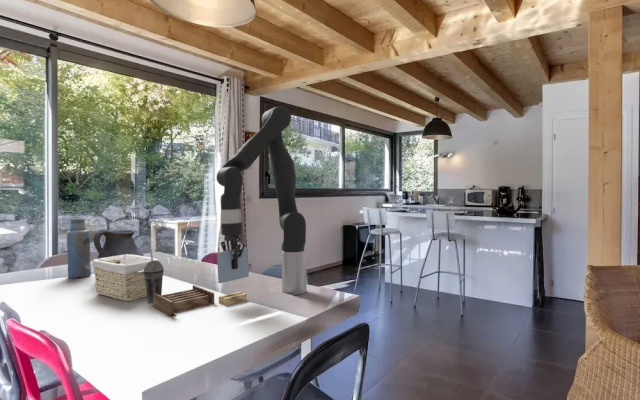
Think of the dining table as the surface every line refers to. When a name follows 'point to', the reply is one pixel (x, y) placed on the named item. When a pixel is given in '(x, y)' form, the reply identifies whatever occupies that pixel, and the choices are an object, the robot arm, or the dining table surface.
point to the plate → (226, 266)
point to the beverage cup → (153, 278)
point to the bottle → (78, 249)
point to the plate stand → (232, 298)
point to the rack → (183, 300)
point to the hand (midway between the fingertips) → (233, 268)
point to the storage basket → (121, 276)
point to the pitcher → (116, 243)
